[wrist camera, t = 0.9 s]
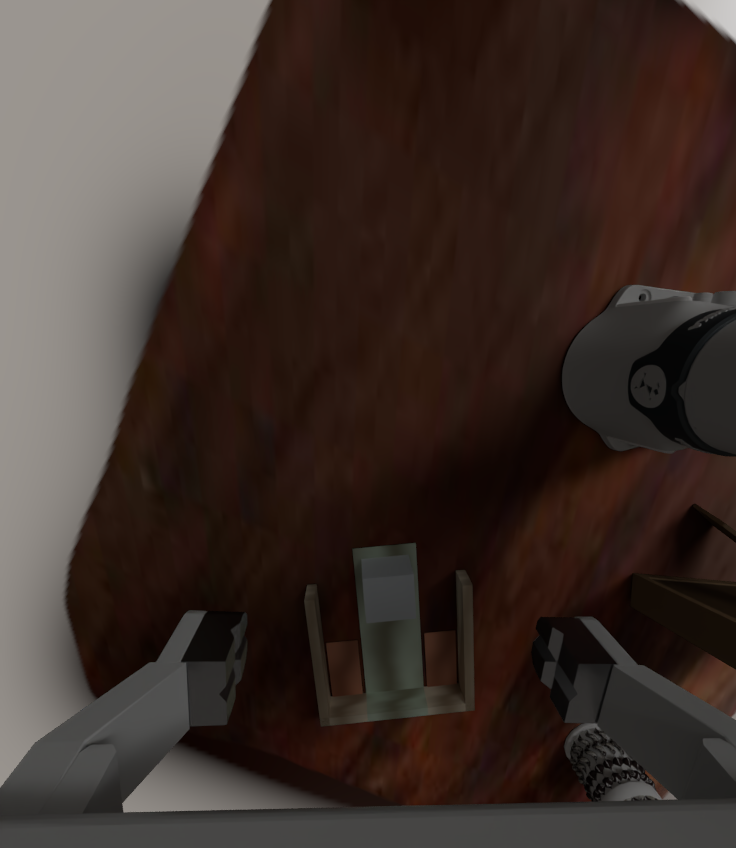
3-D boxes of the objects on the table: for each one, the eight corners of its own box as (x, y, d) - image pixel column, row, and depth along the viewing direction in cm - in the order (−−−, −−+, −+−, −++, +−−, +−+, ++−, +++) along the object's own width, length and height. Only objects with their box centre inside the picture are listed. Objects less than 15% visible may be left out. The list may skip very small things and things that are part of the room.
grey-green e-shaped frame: (464, 538, 46) (471, 551, 43) (467, 689, 51) (474, 710, 48) (303, 553, 45) (299, 567, 42) (322, 704, 50) (320, 726, 47)
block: (408, 554, 46) (413, 574, 42) (410, 595, 47) (416, 618, 43) (361, 559, 46) (362, 579, 42) (365, 600, 47) (366, 623, 43)
